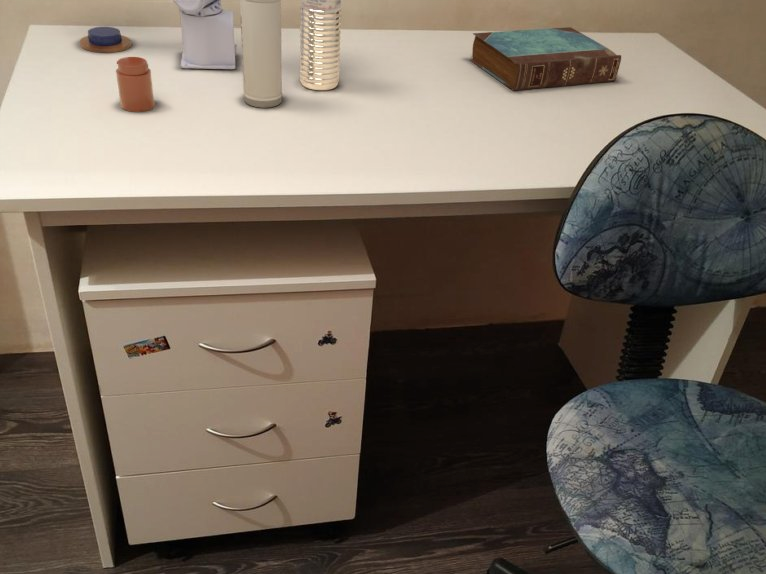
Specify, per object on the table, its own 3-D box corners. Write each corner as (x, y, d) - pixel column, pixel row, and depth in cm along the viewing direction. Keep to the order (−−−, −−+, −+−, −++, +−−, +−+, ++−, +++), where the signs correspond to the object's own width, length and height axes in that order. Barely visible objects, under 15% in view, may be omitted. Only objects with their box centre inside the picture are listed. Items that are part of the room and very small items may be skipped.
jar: (154, 99, 131) (149, 55, 126) (154, 111, 127) (149, 67, 122) (121, 99, 130) (115, 55, 125) (120, 112, 126) (113, 67, 121)
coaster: (133, 37, 153) (133, 34, 152) (129, 53, 146) (128, 50, 146) (83, 36, 151) (83, 32, 151) (77, 52, 144) (76, 48, 144)
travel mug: (288, 97, 136) (288, -33, 123) (272, 111, 131) (269, -23, 118) (255, 90, 137) (251, -39, 124) (237, 103, 132) (231, -30, 119)
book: (514, 91, 146) (519, 63, 143) (468, 59, 158) (471, 32, 155) (615, 82, 154) (622, 55, 151) (564, 52, 166) (569, 26, 163)
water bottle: (291, 82, 141) (291, -79, 125) (320, 74, 145) (323, -83, 129) (318, 94, 138) (321, -70, 122) (346, 86, 142) (353, -74, 126)
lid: (92, 35, 150) (90, 25, 149) (124, 36, 151) (122, 27, 150) (86, 45, 146) (84, 35, 145) (118, 47, 146) (117, 37, 145)
